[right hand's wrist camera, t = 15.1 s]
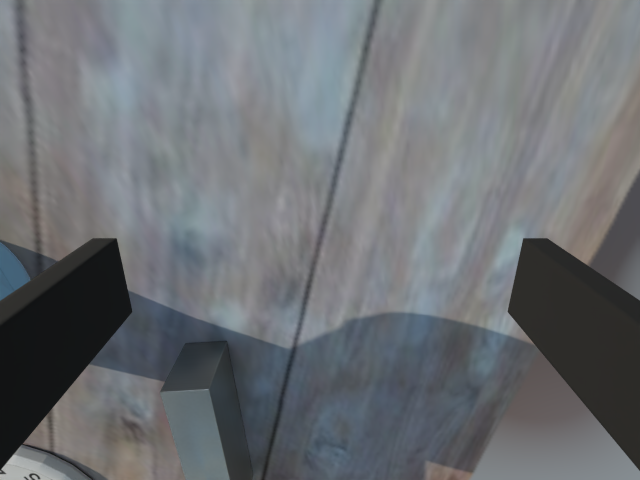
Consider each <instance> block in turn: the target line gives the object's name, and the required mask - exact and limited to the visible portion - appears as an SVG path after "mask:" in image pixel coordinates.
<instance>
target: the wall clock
mask: <svg viewBox="0 0 640 480" xmlns="http://www.w3.org/2000/svg"><path fill="white" fill-rule="evenodd" d="M0 480H92V479H90V478H89V477H88V476H86V475H85V474H84V473H82V472H81V471H80V470H79V469H77V468H76V467H75V466H73V465H72V464H70V463H68V462H66V461H64V460H62V459H60V458H58V457H56V456H54V455H52V454H50V453H47V452H44V451H41V450H37V449H34V448H31V447H28V446H24V445H21V446H20V447H19V449H18V450H17V451H16V452H15V453H14V455H13V456H12V457H11V458H10V459H9V461H8V462H7V463H6V464H5V466H4V467H3V468H2V469H1V470H0Z"/></svg>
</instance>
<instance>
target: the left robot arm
mask: <svg viewBox="0 0 640 480" xmlns="http://www.w3.org/2000/svg"><path fill="white" fill-rule="evenodd" d="M29 281H30V277H29V275H28V273H27V271H26V270H25V268H24V267H23V265H22V264H21V262H20V261H19V260H18V258H17V257H16V256H15V255H14V254H13V253H12V252H11V251H10V250H9V249H8V248H7V247H6V246H5V245H4V244H2V243H1V242H0V301H1V300H2V299H3V298H5V297H6V296H8V295H9V294H11V293H12V292H14V291H15V290H17V289H18V288H20V287H21V286H23V285H24V284H26V283H27V282H29Z"/></svg>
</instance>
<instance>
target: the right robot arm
mask: <svg viewBox="0 0 640 480" xmlns="http://www.w3.org/2000/svg"><path fill="white" fill-rule="evenodd" d="M131 313H132V308H131V303H130V299H129V294H128V289H127V285H126V280H125V275H124V271H123V266H122V261H121V257H120V252H119V247H118V243H117V238H93V239H91V240H90V241H88V242H87V243H85V244H84V245H82V246H81V247H79V248H78V249H76V250H75V251H73V252H72V253H70V254H69V255H68V256H66V257H65V258H63V259H62V260H60V261H59V262H57V263H56V264H54V265H53V266H51V267H50V268H48V269H47V270H45V271H44V272H42V273H41V274H39V275H38V276H36V277H35V278H33V279H32V280H30V281H29V282H27V283H26V284H24V285H23V286H21V287H20V288H18V289H17V290H15V291H14V292H12V293H11V294H9V295H8V296H6V297H5V298H3V299H2V300H1V301H0V470H1V469H2V468H3V467H4V466H5V464H6V463H7V462H8V461H9V459H10V458H11V457H12V456H13V455H14V453H15V452H16V451H17V450H18V449H19V447H20V446H21V445H22V444H23V443H24V441H25V440H26V439H27V438H28V437H29V435H30V434H31V433H32V432H33V431H34V429H35V428H36V427H37V426H38V425H39V423H40V422H41V421H42V420H43V419H44V417H45V416H46V415H47V414H48V413H49V411H50V410H51V409H52V408H53V407H54V405H55V404H56V403H57V402H58V401H59V399H60V398H61V397H62V396H63V395H64V393H65V392H66V391H67V390H68V388H69V387H70V386H71V385H72V384H73V382H74V381H75V380H76V379H77V378H78V376H79V375H80V374H81V373H82V372H83V370H84V369H85V368H86V367H87V366H88V364H89V363H90V362H91V361H92V360H93V358H94V357H95V356H96V355H97V354H98V352H99V351H100V350H101V349H102V348H103V346H104V345H105V344H106V343H107V342H108V340H109V339H110V338H111V337H112V336H113V334H114V333H115V332H116V331H117V330H118V328H119V327H120V326H121V325H122V324H123V322H124V321H125V320H126V319H127V318H128V316H129V315H130V314H131ZM508 313H509V314H510V315H511V316H512V318H513V319H514V320H515V321H516V322H517V324H518V325H519V326H520V327H521V328H522V330H523V331H524V332H525V333H526V334H527V336H528V337H529V338H530V339H531V340H532V342H533V343H534V344H535V345H536V346H537V348H538V349H539V350H540V351H541V352H542V354H543V355H544V356H545V357H546V358H547V360H548V361H549V362H550V363H551V364H552V366H553V367H554V368H555V369H556V370H557V372H558V373H559V374H560V375H561V376H562V378H563V379H564V380H565V381H566V382H567V384H568V385H569V386H570V387H571V388H572V390H573V391H574V392H575V393H576V394H577V396H578V397H579V398H580V399H581V401H582V402H583V403H584V404H585V405H586V407H587V408H588V409H589V410H590V411H591V413H592V414H593V415H594V416H595V417H596V419H597V420H598V421H599V422H600V423H601V425H602V426H603V427H604V428H605V429H606V431H607V432H608V433H609V434H610V435H611V437H612V438H613V439H614V440H615V441H616V443H617V444H618V445H619V446H620V447H621V449H622V450H623V451H624V452H625V453H626V455H627V456H628V457H629V458H630V459H631V461H632V462H633V463H634V464H635V466H636V467H637V468H638V469H639V470H640V301H639V300H638V299H636V298H635V297H634V296H632V295H631V294H629V293H628V292H626V291H625V290H623V289H622V288H620V287H619V286H617V285H616V284H614V283H613V282H611V281H610V280H608V279H607V278H605V277H604V276H602V275H601V274H599V273H598V272H596V271H595V270H593V269H592V268H590V267H589V266H587V265H586V264H584V263H583V262H581V261H580V260H578V259H577V258H575V257H574V256H572V255H571V254H570V253H568V252H567V251H565V250H564V249H562V248H561V247H559V246H558V245H556V244H555V243H553V242H552V241H550V240H549V239H547V238H523V243H522V247H521V252H520V257H519V261H518V266H517V271H516V275H515V280H514V285H513V289H512V294H511V299H510V303H509V308H508Z"/></svg>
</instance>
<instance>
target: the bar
mask: <svg viewBox="0 0 640 480" xmlns="http://www.w3.org/2000/svg"><path fill="white" fill-rule="evenodd" d="M160 395H161V398H162V401H163V405H164V408H165V412H166V415H167V418H168V422H169V425H170V429H171V432H172V435H173V439H174V442H175V446H176V449H177V452H178V456H179V459H180V463H181V466H182V469H183V473H184V476H185V480H252V478H253V472H252V466H251V461H250V456H249V451H248V446H247V441H246V436H245V431H244V426H243V421H242V416H241V411H240V406H239V401H238V396H237V391H236V386H235V381H234V376H233V370H232V365H231V360H230V355H229V350H228V345H227V341H220V342H204V343H187V344H185V345H184V347H183V349H182V351H181V353H180V355H179V357H178V359H177V361H176V363H175V364H174V366H173V368H172V370H171V372H170V374H169V376H168V378H167V380H166V382H165V384H164V385H163V387H162V389H161V391H160Z"/></svg>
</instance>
